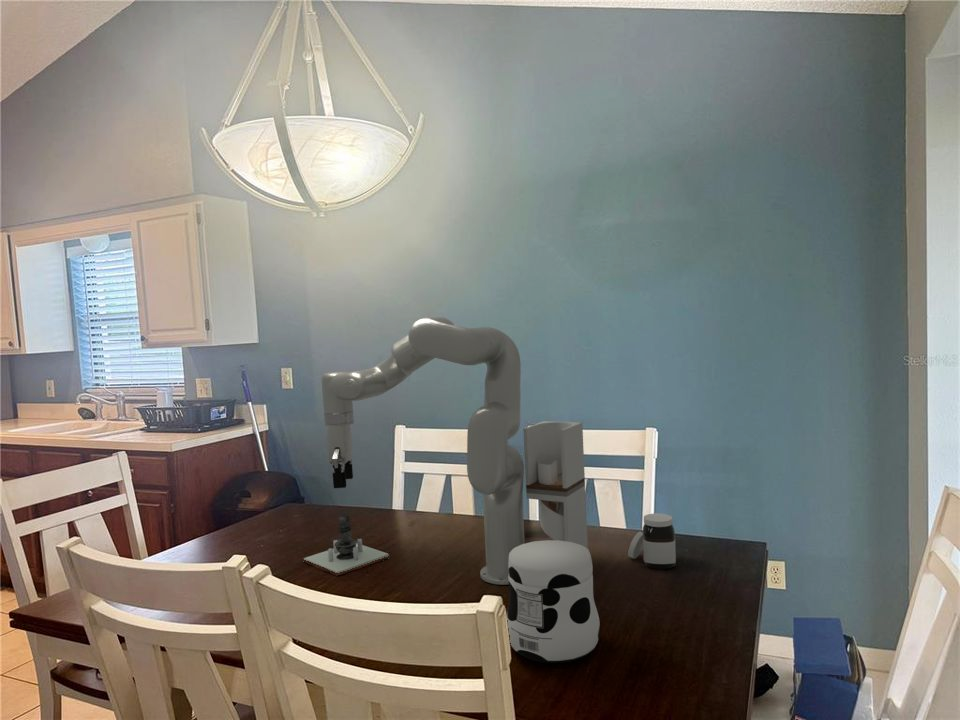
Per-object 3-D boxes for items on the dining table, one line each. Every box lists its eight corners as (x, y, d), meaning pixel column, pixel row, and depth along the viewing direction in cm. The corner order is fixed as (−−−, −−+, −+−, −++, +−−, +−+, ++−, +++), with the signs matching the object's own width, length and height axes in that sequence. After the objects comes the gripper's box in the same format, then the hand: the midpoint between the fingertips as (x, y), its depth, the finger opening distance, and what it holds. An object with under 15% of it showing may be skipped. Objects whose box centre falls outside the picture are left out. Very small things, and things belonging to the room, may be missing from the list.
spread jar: (677, 572, 159) (676, 523, 158) (628, 571, 161) (626, 523, 160) (673, 554, 170) (672, 509, 170) (628, 553, 173) (626, 509, 172)
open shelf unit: (549, 554, 175) (543, 421, 173) (588, 560, 169) (582, 422, 167) (530, 569, 165) (523, 428, 163) (570, 576, 159) (563, 430, 157)
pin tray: (389, 558, 178) (388, 542, 178) (337, 576, 167) (336, 559, 166) (353, 546, 189) (353, 530, 189) (303, 562, 178) (302, 546, 178)
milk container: (590, 624, 134) (586, 535, 133) (610, 669, 117) (606, 567, 116) (504, 629, 134) (499, 541, 133) (511, 675, 116) (506, 573, 115)
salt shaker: (348, 551, 182) (345, 507, 181) (362, 554, 178) (359, 510, 178) (330, 557, 177) (327, 512, 177) (345, 561, 174) (342, 516, 173)
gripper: (331, 415, 185) (335, 476, 186) (317, 424, 168) (322, 492, 169) (358, 413, 185) (363, 475, 186) (347, 422, 168) (352, 490, 169)
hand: (343, 483), depth 177 cm, fingers open, 9 cm apart
